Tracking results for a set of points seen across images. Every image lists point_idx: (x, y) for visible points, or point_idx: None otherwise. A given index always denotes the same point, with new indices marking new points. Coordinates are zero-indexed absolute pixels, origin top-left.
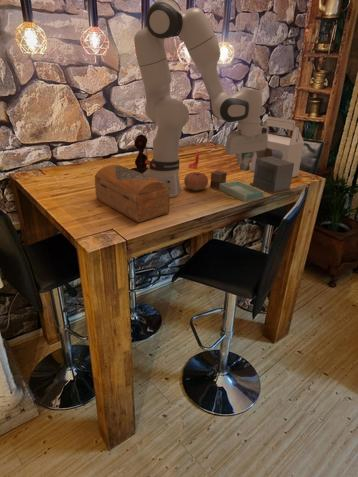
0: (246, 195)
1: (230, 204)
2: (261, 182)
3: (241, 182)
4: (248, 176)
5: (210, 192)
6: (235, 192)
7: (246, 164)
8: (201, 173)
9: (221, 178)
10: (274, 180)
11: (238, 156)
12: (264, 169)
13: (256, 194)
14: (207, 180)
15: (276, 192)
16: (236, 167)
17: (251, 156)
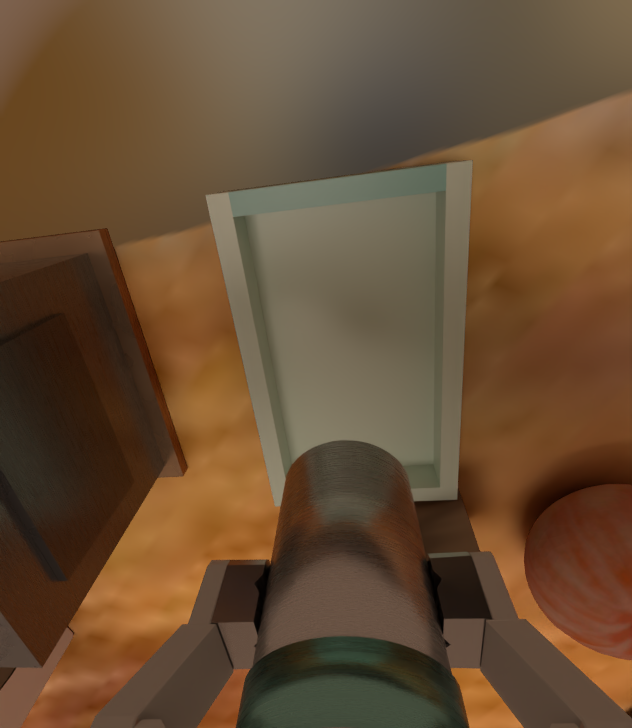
0: (452, 164)
1: (614, 153)
2: (121, 413)
3: (279, 465)
4: (124, 574)
5: (543, 443)
6: (462, 308)
7: (369, 507)
8: (617, 622)
9: (444, 534)
10: (16, 295)
11: (618, 720)
12: (38, 477)
13: (315, 180)
14: (581, 537)
15: (64, 241)
16: (129, 679)
17: (200, 668)
